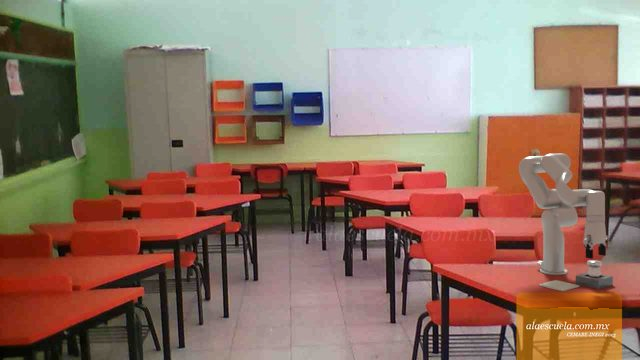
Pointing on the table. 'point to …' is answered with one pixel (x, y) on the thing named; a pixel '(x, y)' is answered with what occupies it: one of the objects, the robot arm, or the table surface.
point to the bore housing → (594, 281)
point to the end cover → (594, 268)
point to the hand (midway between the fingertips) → (595, 256)
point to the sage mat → (559, 285)
